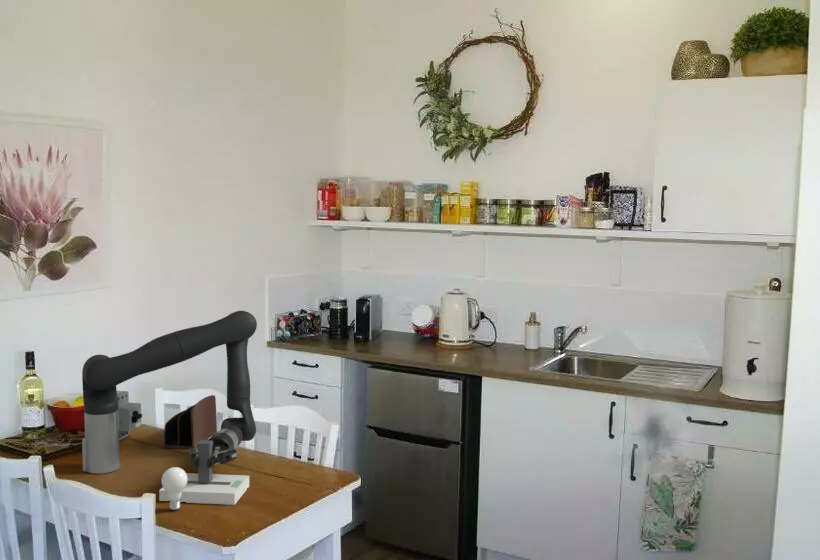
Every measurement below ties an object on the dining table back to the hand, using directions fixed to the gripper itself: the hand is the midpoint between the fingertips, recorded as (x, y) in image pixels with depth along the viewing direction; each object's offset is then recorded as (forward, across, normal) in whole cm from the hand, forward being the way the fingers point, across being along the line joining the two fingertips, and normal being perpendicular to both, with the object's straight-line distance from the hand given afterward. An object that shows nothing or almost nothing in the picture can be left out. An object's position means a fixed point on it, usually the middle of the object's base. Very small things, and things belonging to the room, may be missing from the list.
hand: (201, 464), depth 217 cm
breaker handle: (-3, 0, +6) cm, 6 cm away
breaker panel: (-3, 0, +9) cm, 9 cm away
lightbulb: (+9, -4, +9) cm, 14 cm away
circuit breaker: (-49, -44, +9) cm, 66 cm away
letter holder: (-50, -21, +9) cm, 55 cm away
